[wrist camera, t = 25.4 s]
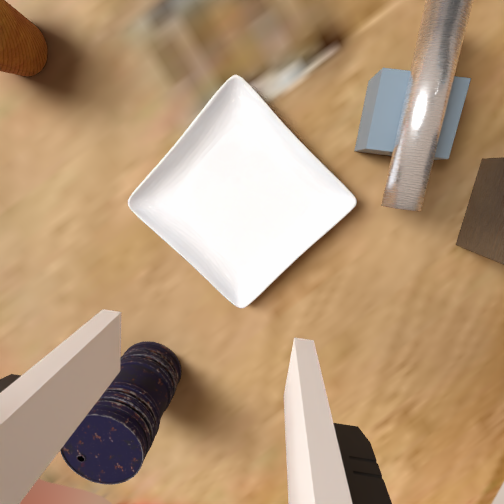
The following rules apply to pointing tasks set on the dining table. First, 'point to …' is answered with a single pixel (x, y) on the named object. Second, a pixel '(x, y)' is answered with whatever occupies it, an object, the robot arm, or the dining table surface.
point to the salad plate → (240, 195)
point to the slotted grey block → (486, 213)
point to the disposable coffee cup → (20, 43)
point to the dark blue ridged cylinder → (125, 416)
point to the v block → (389, 112)
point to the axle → (425, 102)
